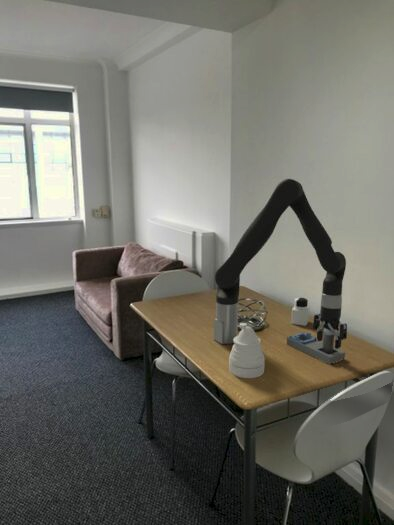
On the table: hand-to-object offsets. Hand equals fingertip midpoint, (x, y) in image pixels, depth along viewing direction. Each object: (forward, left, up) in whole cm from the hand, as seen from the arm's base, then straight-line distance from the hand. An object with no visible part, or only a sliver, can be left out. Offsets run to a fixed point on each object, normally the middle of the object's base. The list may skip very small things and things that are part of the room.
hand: (328, 344), depth 164 cm
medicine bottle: (+19, +33, -6) cm, 38 cm away
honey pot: (-33, +9, -6) cm, 35 cm away
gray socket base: (0, +7, -5) cm, 9 cm away
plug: (0, 0, -5) cm, 5 cm away
